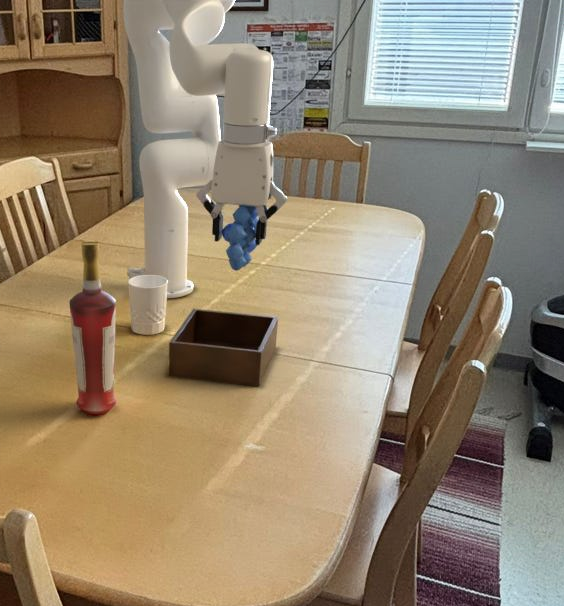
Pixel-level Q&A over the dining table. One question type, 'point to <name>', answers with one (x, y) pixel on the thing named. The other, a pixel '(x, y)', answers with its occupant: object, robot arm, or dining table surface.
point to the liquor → (93, 337)
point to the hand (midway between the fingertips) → (238, 240)
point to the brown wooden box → (223, 347)
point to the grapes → (241, 236)
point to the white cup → (147, 303)
